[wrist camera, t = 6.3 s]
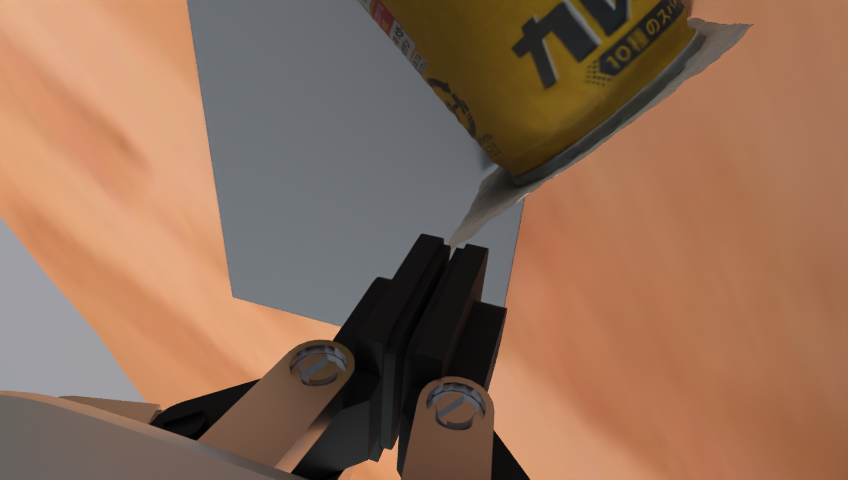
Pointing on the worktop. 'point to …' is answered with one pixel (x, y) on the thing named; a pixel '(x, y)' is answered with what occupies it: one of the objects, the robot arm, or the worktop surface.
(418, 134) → the mat
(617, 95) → the condiment
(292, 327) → the worktop surface
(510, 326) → the worktop surface
